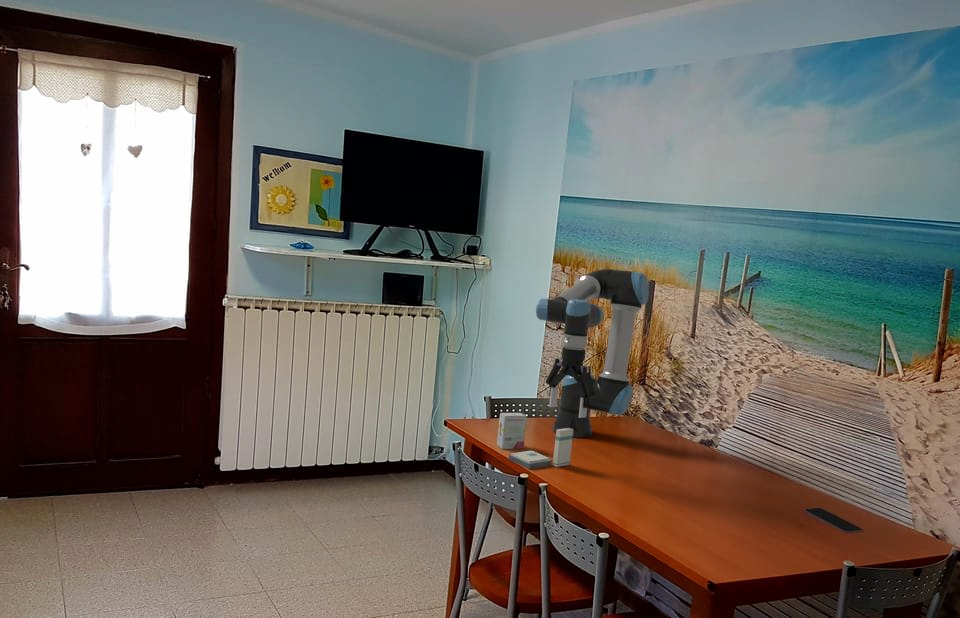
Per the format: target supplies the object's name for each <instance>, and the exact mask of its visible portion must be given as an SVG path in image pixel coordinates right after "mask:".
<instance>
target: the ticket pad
mask: <svg viewBox="0 0 960 618" xmlns="http://www.w3.org/2000/svg"><path fill="white" fill-rule="evenodd" d="M508 461H510V462H512V463H515V464H516V465H519V466H521V467H523V468H525V469H527V470H533V469H539V468H538V467H540V468H545V467H544V466H546V467H550V466H549V465H552V466H553V459H551V457H547V456H545V455H542V454H540V453H539V452H537V451H533V450H527V451H520V452H519V451H518V452H512V453H511V454H509V455H508Z"/></svg>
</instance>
